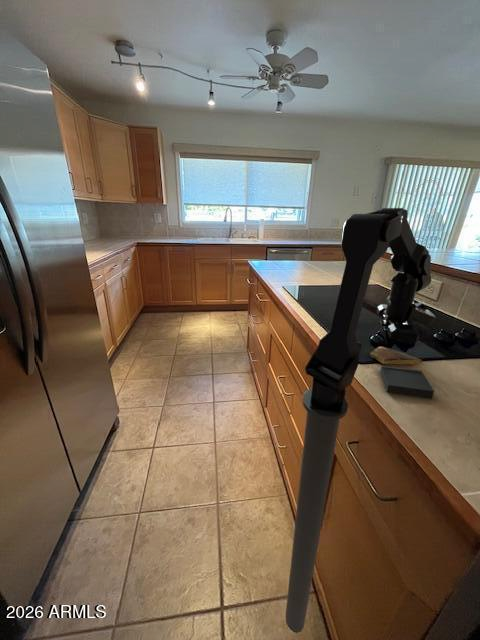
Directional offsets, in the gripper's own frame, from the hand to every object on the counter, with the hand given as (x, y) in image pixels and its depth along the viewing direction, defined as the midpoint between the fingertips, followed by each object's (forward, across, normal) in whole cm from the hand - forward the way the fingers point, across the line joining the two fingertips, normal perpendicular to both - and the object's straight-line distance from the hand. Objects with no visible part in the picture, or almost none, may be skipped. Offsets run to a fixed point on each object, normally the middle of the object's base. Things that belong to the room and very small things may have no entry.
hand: (389, 347), depth 75 cm
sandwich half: (+1, -3, 0) cm, 3 cm away
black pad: (+1, -16, 0) cm, 16 cm away
